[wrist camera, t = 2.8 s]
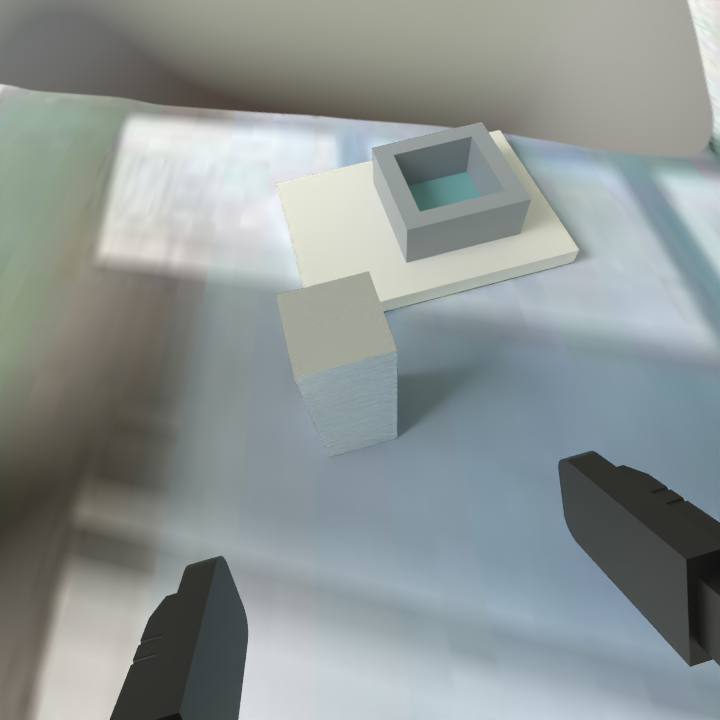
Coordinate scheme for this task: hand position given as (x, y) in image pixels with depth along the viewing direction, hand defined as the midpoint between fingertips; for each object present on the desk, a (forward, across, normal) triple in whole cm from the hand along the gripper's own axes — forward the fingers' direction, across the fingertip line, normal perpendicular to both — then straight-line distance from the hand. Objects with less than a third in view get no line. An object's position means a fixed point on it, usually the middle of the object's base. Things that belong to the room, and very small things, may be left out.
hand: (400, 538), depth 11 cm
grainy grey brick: (+16, 0, +4) cm, 16 cm away
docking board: (+25, -8, -6) cm, 27 cm away
